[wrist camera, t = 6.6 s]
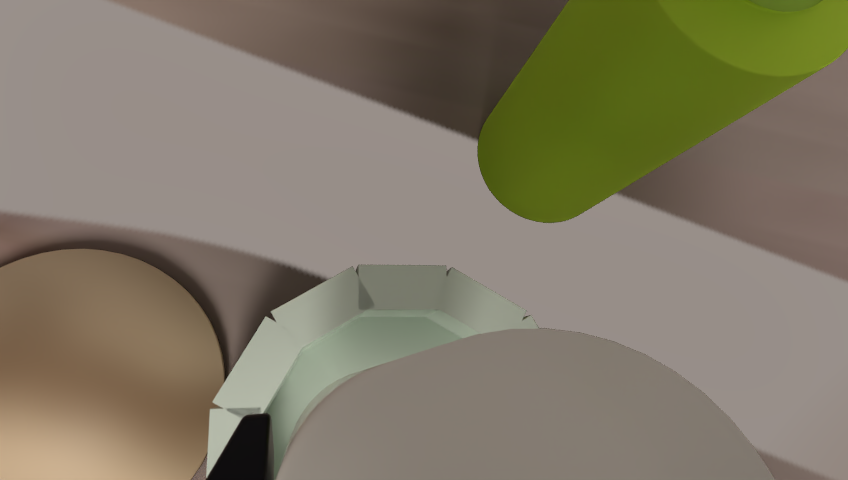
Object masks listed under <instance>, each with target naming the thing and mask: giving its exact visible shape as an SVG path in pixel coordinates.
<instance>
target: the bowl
mask: <svg viewBox="0 0 848 480" xmlns="http://www.w3.org/2000/svg"><path fill="white" fill-rule="evenodd" d="M271 313H272V315H273V317H274V319H275V320H276V322H275V321H273V320H271V319H270V318H268V317H265V318H264V320H263V321H262V323H261V325H260V326H259V328H258V329H257V331H256V333H255V334H254V336H253V337H252V339H251V341H250V342H249V344H248V345H247V347H246V349H245V350H244V352H243V353H242V355H241V357H240V358H239V360H238V361H237V363H236V365H235V366H234V368H233V369H232V371H231V373H230V374H229V376H228V377H227V379H226V381H225V382H224V384H223V385H222V387H221V389H220V390H219V392H218V393H217V395H216V397H215V398H214V400H213V401H212V402H213V403H215V404H216V405H218V407H215V408H212V409H210V416H209V436H208V455H207V474H206V478H207V476H208V475H209V473H210V471H211V470H212V468H213V466H214V465H215V463H216V461H217V460H218V458H219V456H220V454H221V453H222V451H223V449H224V448H225V446H226V444H227V443H228V441H229V439H230V438H231V436H232V434H233V432H234V431H235V429H236V427H237V426H238V424H239V422H240V421H241V419H242V418H243V417H244V416H245V415H249V414H261V413H268V414H270V415H271V419H272V430H273V444H274V480H275V479H276V476H277V473H278V471H279V468H280V465H281V462H282V459H283V457H284V454H285V451H286V448H287V445H288V443H289V440H290V437H291V434H292V432H293V430H294V427H295V425H296V423H297V421H298V419H299V417H300V416H301V414H302V412H303V411H304V409H305V408H306V407H307V405H308V404H309V403H310V402H311V401H312V400H313V399H314V397H315V396H316V395H317V394H318V393H320V392H321V391H322V390H323V389H324V388H326V387H327V386H328V385H330V384H332V383H333V382H335V381H336V380H338V379H340V378H342V377H345V376H347V375H349V374H352V373H355V372H359V371H362V370H365V369H368V368H371V367H374V366H377V365H380V364H384V363H387V362H390V361H393V360H396V359H399V358H402V357H405V356H408V355H412V354H415V353H418V352H421V351H424V350H427V349H430V348H433V347H436V346H440V345H443V344H446V343H449V342H453V341H456V340H459V339H463V338H466V337H469V336H472V335H476V334H482V333H488V332H495V331H501V330H507V329H537V328H539V327H538V326H537V324H536V323H535V321H534V319H533V317H532V316H531V315H529V316H526V317H524V315H525V313H526V310H525V309H523V308H521V307H519V306H518V305H516V304H514V303H513V302H510V301H509V300H507V299H506V298H504V297H502V296H501V295H499V294H497V293H495V292H494V291H492V290H490V289H488V288H487V287H485V286H483V285H482V284H480V283H478V282H477V281H475V280H473V279H471V278H470V277H468V276H466V275H465V274H463V273H461V272H459V271H458V270H456V269H454V268H453V267H452V268H450V269H449V270H448V271H447V272H446V266H431V265H428V266H427V265H358V267H357V269H356V271H355V270H354V268H353V267H350V268H348V269H347V270H345V271H343V272H341V273H339V274H338V275H336V276H334V277H332V278H330V279H329V280H327V281H325V282H323V283H321V284H320V285H318V286H316V287H314V288H312V289H311V290H309V291H307V292H305V293H303V294H302V295H300V296H298V297H296V298H294V299H293V300H291V301H289V302H287V303H285V304H284V305H282V306H280V307H278V308H276V309H275V310H273V311H271Z"/></svg>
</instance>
